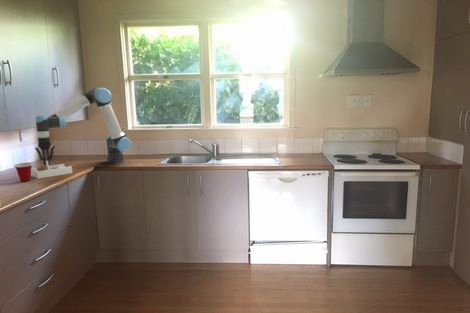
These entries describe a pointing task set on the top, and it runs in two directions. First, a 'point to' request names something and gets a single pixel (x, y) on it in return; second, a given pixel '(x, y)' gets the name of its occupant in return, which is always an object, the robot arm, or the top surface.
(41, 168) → the walnut block
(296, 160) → the top surface
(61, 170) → the box
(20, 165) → the plastic cup
